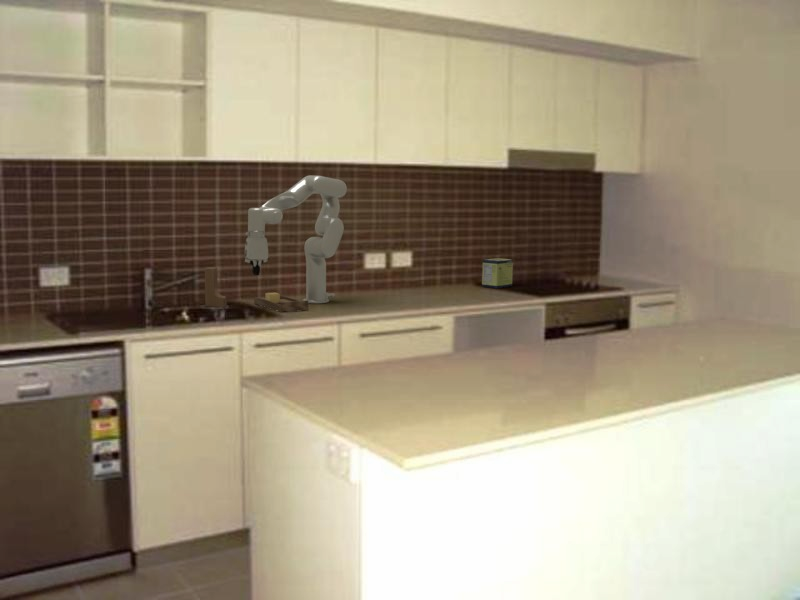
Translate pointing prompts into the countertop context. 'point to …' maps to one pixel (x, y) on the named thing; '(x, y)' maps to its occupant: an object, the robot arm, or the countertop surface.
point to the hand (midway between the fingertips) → (256, 274)
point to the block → (273, 297)
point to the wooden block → (213, 289)
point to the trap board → (283, 304)
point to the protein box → (497, 273)
